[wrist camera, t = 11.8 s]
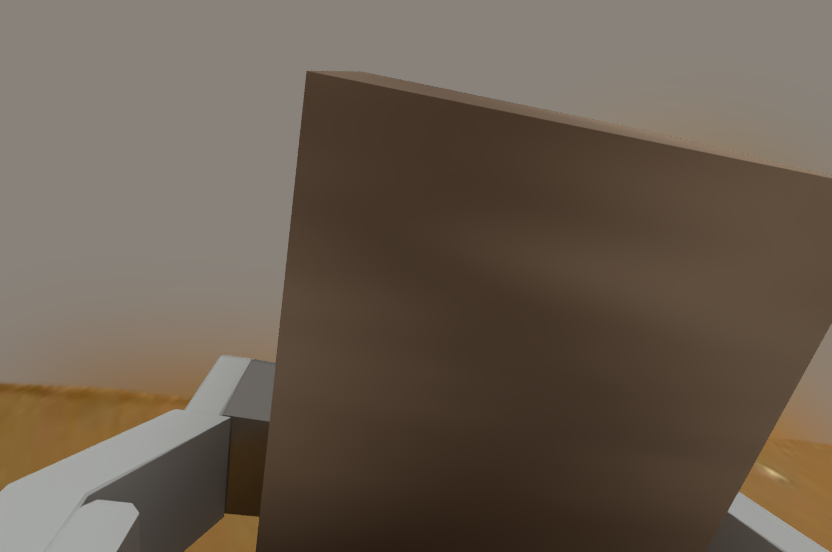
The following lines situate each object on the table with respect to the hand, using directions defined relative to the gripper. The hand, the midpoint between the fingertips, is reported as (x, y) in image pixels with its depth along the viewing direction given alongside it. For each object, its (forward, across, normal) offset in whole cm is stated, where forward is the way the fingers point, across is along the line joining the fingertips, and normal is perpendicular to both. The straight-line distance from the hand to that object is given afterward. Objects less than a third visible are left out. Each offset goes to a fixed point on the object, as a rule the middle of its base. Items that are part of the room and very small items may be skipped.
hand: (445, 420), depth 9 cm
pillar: (-1, 0, +6) cm, 7 cm away
